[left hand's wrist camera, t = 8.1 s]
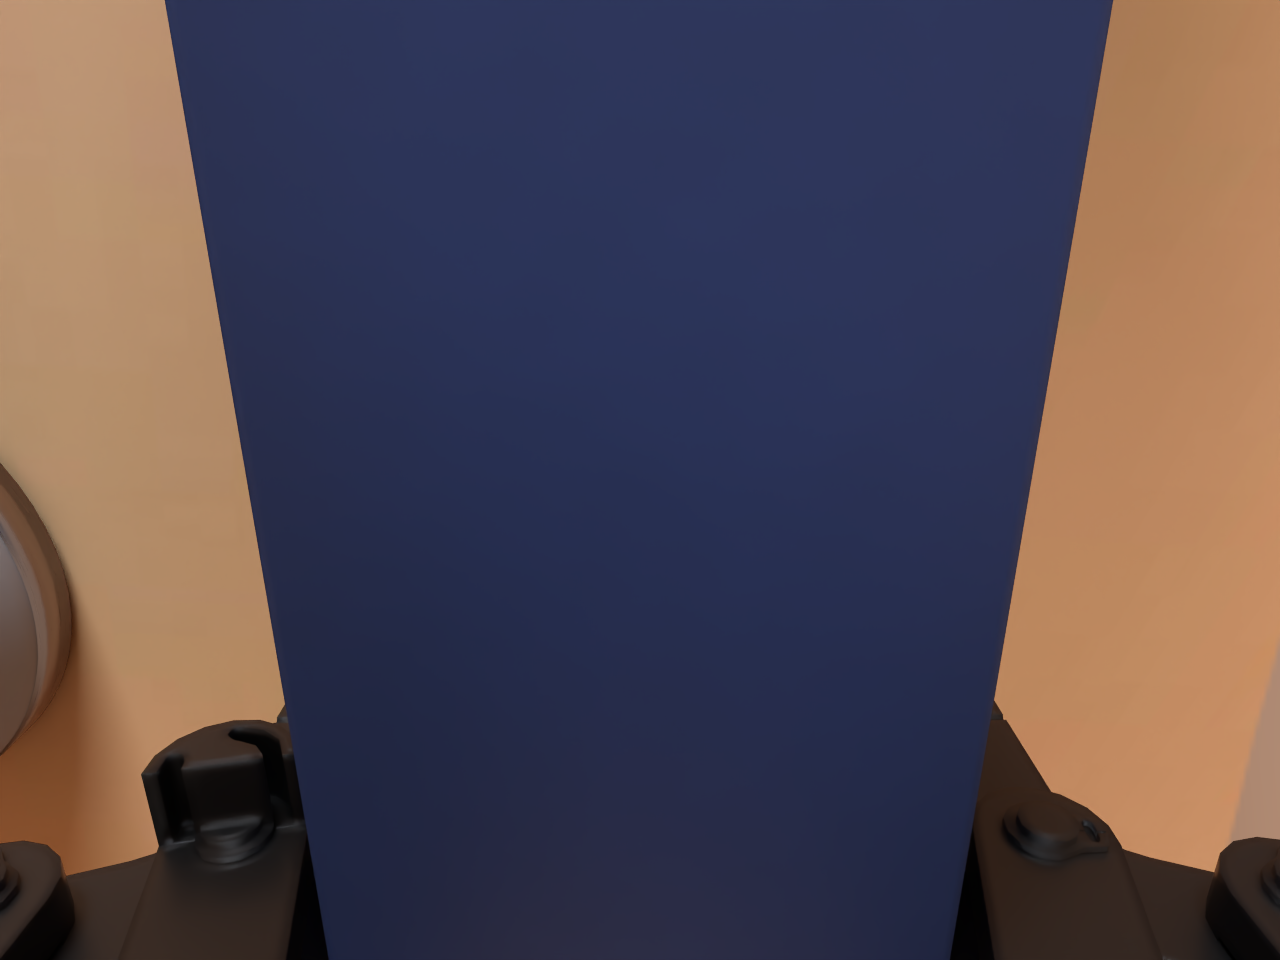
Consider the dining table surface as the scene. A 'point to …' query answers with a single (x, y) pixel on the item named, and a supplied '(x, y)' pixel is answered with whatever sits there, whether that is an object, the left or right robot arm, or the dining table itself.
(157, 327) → the dining table surface
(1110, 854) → the left robot arm
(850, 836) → the bar
